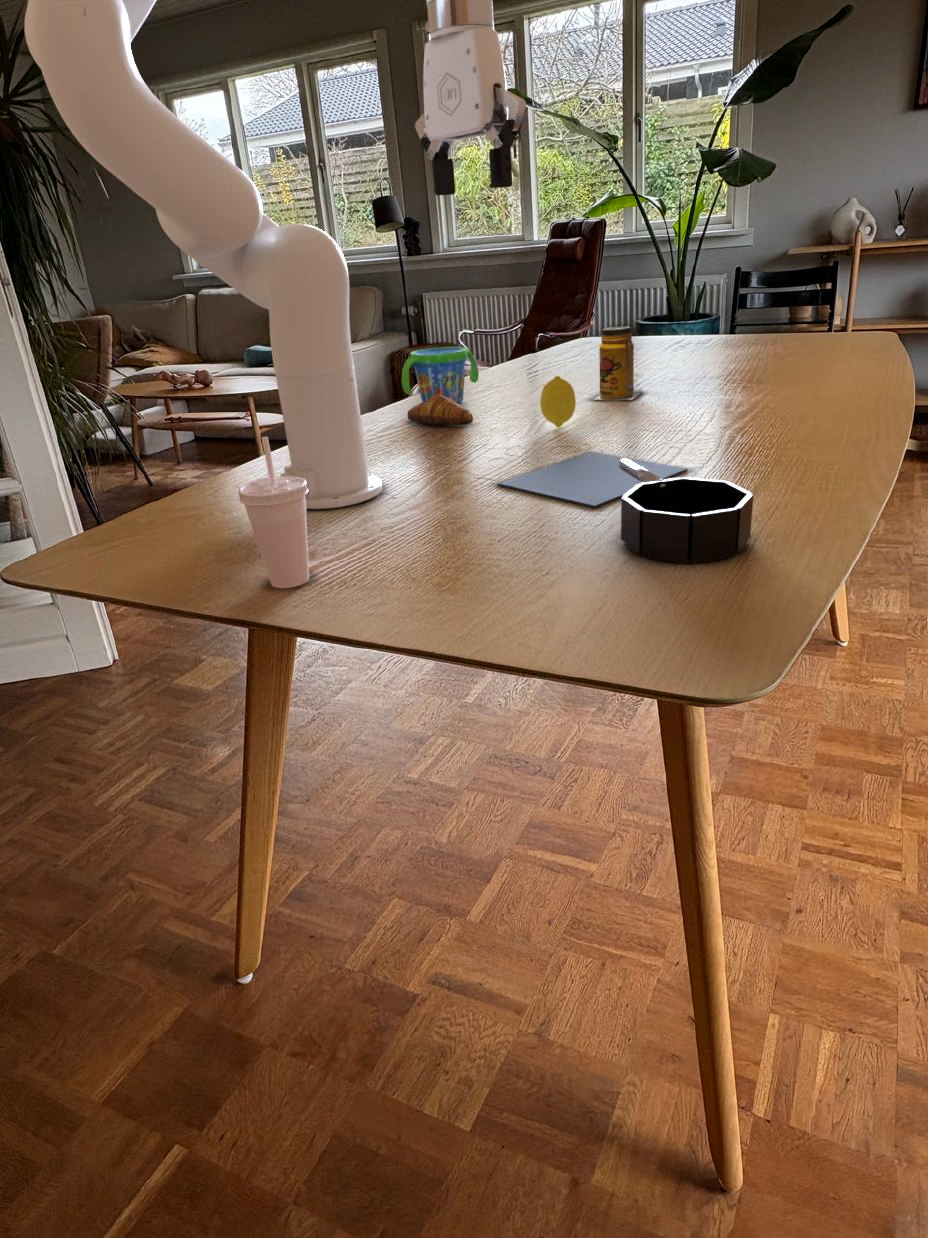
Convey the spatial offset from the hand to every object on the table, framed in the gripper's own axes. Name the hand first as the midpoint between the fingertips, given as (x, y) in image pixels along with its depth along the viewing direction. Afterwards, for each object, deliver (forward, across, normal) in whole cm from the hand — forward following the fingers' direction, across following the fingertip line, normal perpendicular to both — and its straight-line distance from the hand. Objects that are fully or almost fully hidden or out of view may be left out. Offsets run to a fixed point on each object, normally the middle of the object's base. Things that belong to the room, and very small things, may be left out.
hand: (472, 190), depth 100 cm
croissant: (+34, -24, +13) cm, 44 cm away
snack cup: (+34, -34, +24) cm, 54 cm away
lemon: (+34, -3, +20) cm, 40 cm away
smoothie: (+34, +13, -44) cm, 57 cm away
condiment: (+34, -9, +44) cm, 57 cm away
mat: (+34, +18, -1) cm, 38 cm away
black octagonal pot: (+34, +35, -12) cm, 50 cm away
